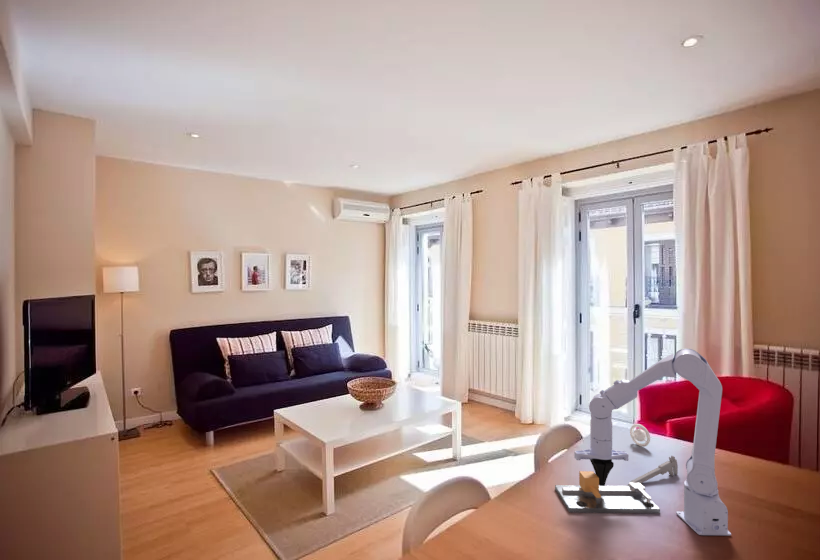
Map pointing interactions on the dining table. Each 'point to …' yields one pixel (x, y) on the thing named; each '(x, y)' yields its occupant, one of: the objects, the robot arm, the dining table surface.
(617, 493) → the board
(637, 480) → the caliper
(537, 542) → the dining table surface
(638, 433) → the ring around a ball
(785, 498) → the dining table surface
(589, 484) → the block
